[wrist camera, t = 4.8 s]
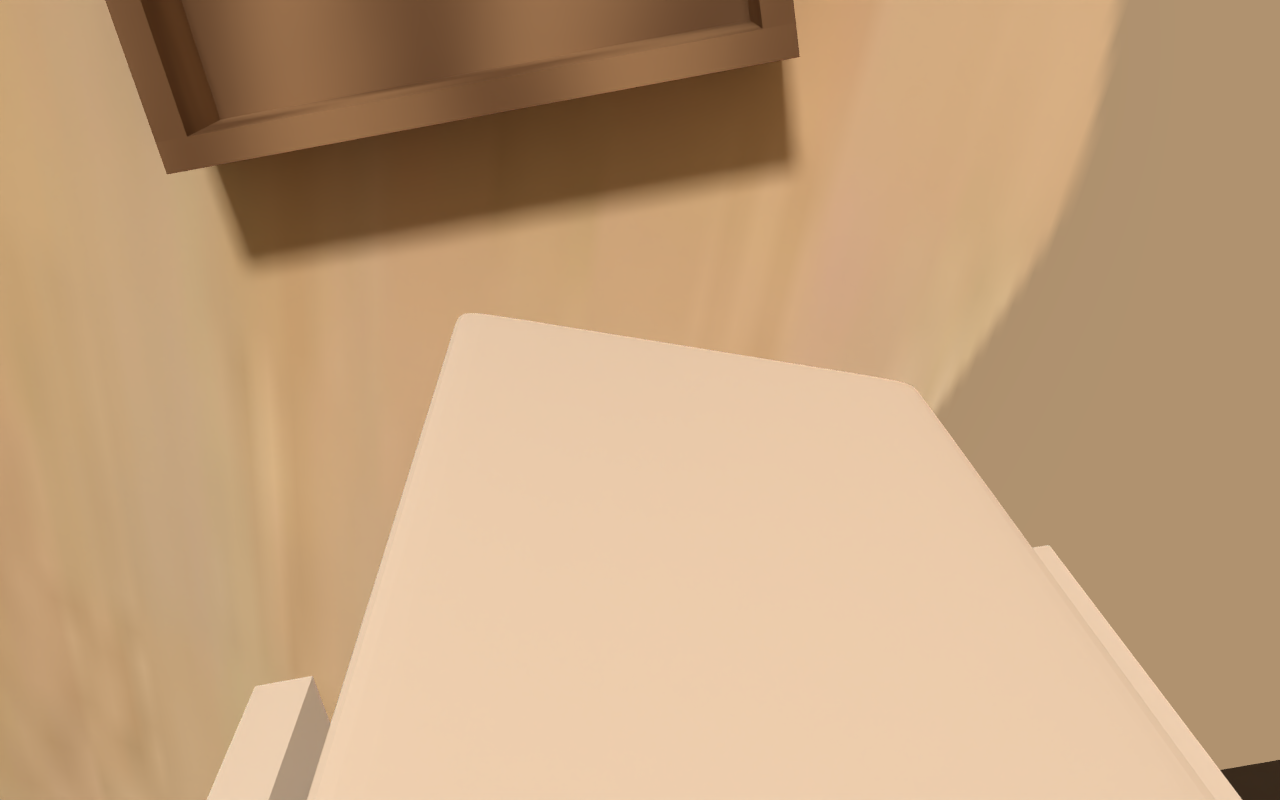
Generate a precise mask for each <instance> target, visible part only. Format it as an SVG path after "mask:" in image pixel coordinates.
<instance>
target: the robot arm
mask: <svg viewBox="0 0 1280 800" xmlns="http://www.w3.org/2000/svg"><path fill="white" fill-rule="evenodd" d="M1033 550H1034V551H1035V552H1036V554H1037V555H1038V557H1039V558H1040V559H1041V561H1042V562H1043V563H1044V565H1045V566H1046V568H1047V569H1048V570H1049V572H1050V573H1051V574H1052V576H1053V577H1054V579H1055V580H1056V581H1057V583H1058V584H1059V585H1060V587H1061V588H1062V590H1063V591H1064V592H1065V594H1066V595H1067V596H1068V598H1069V599H1070V601H1071V602H1072V603H1073V605H1074V606H1075V607H1076V609H1077V610H1078V612H1079V613H1080V614H1081V616H1082V617H1083V618H1084V620H1085V621H1086V623H1087V624H1088V625H1089V627H1090V628H1091V629H1092V631H1093V632H1094V634H1095V635H1096V636H1097V638H1098V639H1099V640H1100V642H1101V643H1102V644H1103V646H1104V647H1105V649H1106V650H1107V651H1108V653H1109V654H1110V655H1111V657H1112V658H1113V660H1114V661H1115V662H1116V664H1117V665H1118V666H1119V668H1120V669H1121V671H1122V672H1123V673H1124V675H1125V676H1126V677H1127V679H1128V680H1129V682H1130V683H1131V684H1132V686H1133V687H1134V688H1135V690H1136V691H1137V693H1138V694H1139V695H1140V697H1141V698H1142V699H1143V701H1144V702H1145V704H1146V705H1147V706H1148V708H1149V709H1150V710H1151V712H1152V713H1153V715H1154V716H1155V717H1156V719H1157V720H1158V721H1159V723H1160V724H1161V726H1162V727H1163V728H1164V730H1165V731H1166V732H1167V734H1168V735H1169V736H1170V738H1171V739H1172V741H1173V742H1174V743H1175V745H1176V746H1177V747H1178V749H1179V750H1180V752H1181V753H1182V754H1183V756H1184V757H1185V758H1186V760H1187V761H1188V763H1189V764H1190V765H1191V767H1192V768H1193V769H1194V771H1195V772H1196V774H1197V775H1198V776H1199V778H1200V779H1201V780H1202V782H1203V783H1204V785H1205V786H1206V787H1207V789H1208V790H1209V791H1210V793H1211V794H1212V796H1213V797H1214V798H1215V800H1280V760H1276V761H1271V762H1265V763H1260V764H1253V765H1247V766H1242V767H1236V768H1230V769H1224V770H1219V768H1218V767H1217V766H1216V764H1215V763H1214V762H1213V760H1212V759H1211V758H1210V757H1209V755H1208V754H1207V753H1206V751H1205V750H1204V749H1203V747H1202V746H1201V745H1200V743H1199V742H1198V741H1197V739H1196V738H1195V737H1194V736H1193V734H1192V733H1191V731H1190V730H1189V729H1188V727H1187V726H1186V725H1185V724H1184V722H1183V721H1182V720H1181V718H1180V717H1179V716H1178V714H1177V713H1176V712H1175V710H1174V709H1173V708H1172V707H1171V705H1170V704H1169V702H1168V701H1167V700H1166V699H1165V697H1164V696H1163V695H1162V693H1161V692H1160V691H1159V689H1158V688H1157V687H1156V685H1155V684H1154V683H1153V681H1152V680H1151V679H1150V678H1149V676H1148V675H1147V674H1146V672H1145V671H1144V670H1143V668H1142V667H1141V666H1140V664H1139V663H1138V662H1137V661H1136V659H1135V658H1134V656H1133V655H1132V654H1131V652H1130V651H1129V650H1128V648H1127V647H1126V646H1125V644H1124V643H1123V642H1122V641H1121V639H1120V638H1119V637H1118V635H1117V634H1116V633H1115V631H1114V630H1113V629H1112V628H1111V626H1110V625H1109V623H1108V622H1107V621H1106V620H1105V618H1104V617H1103V616H1102V614H1101V613H1100V612H1099V610H1098V609H1097V608H1096V606H1095V605H1094V604H1093V602H1092V601H1091V600H1090V598H1089V597H1088V596H1087V594H1085V592H1084V590H1083V589H1082V588H1081V586H1080V585H1079V584H1078V583H1077V581H1076V580H1075V579H1074V577H1073V576H1072V575H1071V574H1070V572H1069V571H1068V569H1067V568H1066V567H1065V565H1064V564H1063V563H1062V561H1061V560H1060V559H1059V557H1057V555H1056V554H1055V552H1054V551H1053V550H1052V548H1051V547H1050V546H1049V545H1046V546H1041V547H1035V548H1033ZM329 727H330V722H329V719H328V716H327V714H326V711H325V708H324V705H323V703H322V700H321V697H320V695H319V692H318V689H317V686H316V684H315V681H314V678H313V676H309V677H304V678H298V679H292V680H287V681H281V682H275V683H270V684H264V685H259V686H255V688H254V690H253V692H252V695H251V697H250V699H249V702H248V704H247V706H246V709H245V711H244V713H243V716H242V718H241V720H240V723H239V725H238V727H237V730H236V732H235V734H234V737H233V739H232V742H231V744H230V746H229V749H228V751H227V753H226V756H225V758H224V760H223V763H222V765H221V767H220V770H219V772H218V774H217V777H216V779H215V781H214V784H213V786H212V788H211V791H210V793H209V796H208V798H207V800H307V797H308V794H309V791H310V787H311V784H312V781H313V778H314V775H315V771H316V768H317V765H318V762H319V759H320V755H321V752H322V749H323V746H324V743H325V739H326V736H327V733H328V730H329Z"/></svg>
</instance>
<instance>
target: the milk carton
mask: <svg viewBox="0 0 1280 800" xmlns="http://www.w3.org/2000/svg"><path fill="white" fill-rule="evenodd" d="M307 800H1215V798H1214V797H1213V796H1212V794H1211V793H1210V791H1209V790H1208V789H1207V787H1206V786H1205V785H1204V783H1203V782H1202V780H1201V779H1200V778H1199V776H1198V775H1197V774H1196V772H1195V771H1194V769H1193V768H1192V767H1191V765H1190V764H1189V763H1188V761H1187V760H1186V758H1185V757H1184V756H1183V754H1182V753H1181V752H1180V750H1179V749H1178V747H1177V746H1176V745H1175V743H1174V742H1173V741H1172V739H1171V738H1170V736H1169V735H1168V734H1167V732H1166V731H1165V730H1164V728H1163V727H1162V726H1161V724H1160V723H1159V721H1158V720H1157V719H1156V717H1155V716H1154V715H1153V713H1152V712H1151V710H1150V709H1149V708H1148V706H1147V705H1146V704H1145V702H1144V701H1143V699H1142V698H1141V697H1140V695H1139V694H1138V693H1137V691H1136V690H1135V688H1134V687H1133V686H1132V684H1131V683H1130V682H1129V680H1128V679H1127V677H1126V676H1125V675H1124V673H1123V672H1122V671H1121V669H1120V668H1119V666H1118V665H1117V664H1116V662H1115V661H1114V660H1113V658H1112V657H1111V655H1110V654H1109V653H1108V651H1107V650H1106V649H1105V647H1104V646H1103V644H1102V643H1101V642H1100V640H1099V639H1098V638H1097V636H1096V635H1095V634H1094V632H1093V631H1092V629H1091V628H1090V627H1089V625H1088V624H1087V623H1086V621H1085V620H1084V618H1083V617H1082V616H1081V614H1080V613H1079V612H1078V610H1077V609H1076V607H1075V606H1074V605H1073V603H1072V602H1071V601H1070V599H1069V598H1068V596H1067V595H1066V594H1065V592H1064V591H1063V590H1062V588H1061V587H1060V585H1059V584H1058V583H1057V581H1056V580H1055V579H1054V577H1053V576H1052V574H1051V573H1050V572H1049V570H1048V569H1047V568H1046V566H1045V565H1044V563H1043V562H1042V561H1041V559H1040V558H1039V557H1038V555H1037V554H1036V552H1035V551H1034V550H1033V548H1032V547H1031V546H1030V544H1029V543H1028V542H1027V540H1026V539H1025V537H1024V536H1023V535H1022V533H1021V532H1020V531H1019V529H1018V528H1017V527H1016V525H1015V524H1014V522H1013V521H1012V520H1011V518H1010V517H1009V515H1008V514H1007V513H1006V512H1005V510H1004V509H1003V507H1002V506H1001V504H1000V503H999V502H998V500H997V499H996V498H995V496H994V495H993V493H992V492H991V491H990V489H989V488H988V487H987V485H986V484H985V482H984V481H983V480H982V478H981V477H980V476H979V474H978V473H977V472H976V470H975V469H974V467H973V466H972V465H971V463H970V462H969V461H968V459H967V458H966V457H965V455H964V454H963V452H962V451H961V449H960V448H959V447H958V445H957V444H956V443H955V441H954V440H953V439H952V437H951V436H950V434H949V433H948V432H947V430H946V429H945V428H944V426H943V425H942V423H941V422H940V421H939V419H938V418H937V417H936V415H935V414H934V412H933V411H932V410H931V408H930V407H929V406H928V404H927V403H926V401H925V400H924V399H923V397H922V396H921V395H920V393H919V392H918V391H917V390H916V389H915V388H914V387H913V386H911V385H909V384H906V383H904V382H900V381H895V380H890V379H885V378H880V377H874V376H868V375H862V374H856V373H850V372H844V371H838V370H831V369H825V368H819V367H813V366H807V365H800V364H794V363H788V362H782V361H776V360H770V359H763V358H757V357H751V356H745V355H739V354H732V353H726V352H720V351H714V350H708V349H701V348H695V347H689V346H683V345H677V344H671V343H664V342H658V341H652V340H646V339H640V338H633V337H627V336H621V335H615V334H609V333H603V332H596V331H590V330H584V329H578V328H572V327H565V326H559V325H553V324H547V323H541V322H535V321H528V320H522V319H515V318H509V317H503V316H495V315H488V314H479V313H466V314H463V315H461V316H460V317H459V318H458V320H457V322H456V324H455V327H454V330H453V333H452V336H451V339H450V343H449V346H448V349H447V352H446V355H445V359H444V362H443V365H442V368H441V371H440V375H439V378H438V381H437V384H436V387H435V391H434V394H433V397H432V400H431V403H430V407H429V410H428V413H427V416H426V419H425V423H424V426H423V429H422V432H421V435H420V439H419V442H418V445H417V448H416V451H415V455H414V458H413V461H412V464H411V467H410V471H409V474H408V477H407V480H406V483H405V487H404V490H403V493H402V496H401V499H400V503H399V506H398V509H397V512H396V515H395V519H394V522H393V525H392V528H391V531H390V535H389V538H388V541H387V544H386V547H385V551H384V554H383V557H382V560H381V563H380V567H379V570H378V573H377V576H376V579H375V583H374V586H373V589H372V592H371V595H370V599H369V602H368V605H367V608H366V611H365V615H364V618H363V621H362V624H361V627H360V631H359V634H358V637H357V640H356V643H355V647H354V650H353V653H352V656H351V659H350V663H349V666H348V669H347V672H346V675H345V679H344V682H343V685H342V688H341V691H340V695H339V698H338V701H337V704H336V707H335V711H334V714H333V717H332V720H331V723H330V727H329V730H328V733H327V736H326V739H325V743H324V746H323V749H322V752H321V755H320V759H319V762H318V765H317V768H316V771H315V775H314V778H313V781H312V784H311V787H310V791H309V794H308V797H307Z"/></svg>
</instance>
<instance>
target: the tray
mask: <svg viewBox="0 0 1280 800" xmlns="http://www.w3.org/2000/svg"><path fill="white" fill-rule="evenodd" d="M105 1H106V3H107V6H108V9H109V12H110V15H111V18H112V20H113V23H114V26H115V29H116V32H117V34H118V37H119V40H120V43H121V46H122V49H123V51H124V54H125V57H126V60H127V63H128V65H129V68H130V71H131V74H132V77H133V80H134V82H135V85H136V88H137V91H138V94H139V96H140V99H141V102H142V105H143V108H144V111H145V113H146V116H147V119H148V122H149V125H150V127H151V130H152V133H153V136H154V139H155V142H156V144H157V147H158V150H159V153H160V156H161V158H162V161H163V164H164V167H165V170H166V173H167V174H171V173H177V172H182V171H188V170H193V169H198V168H204V167H209V166H215V165H220V164H225V163H231V162H236V161H241V160H247V159H252V158H258V157H263V156H268V155H274V154H279V153H285V152H290V151H295V150H301V149H306V148H311V147H317V146H322V145H328V144H333V143H338V142H344V141H349V140H355V139H360V138H365V137H371V136H376V135H381V134H387V133H392V132H398V131H403V130H408V129H414V128H419V127H425V126H430V125H435V124H441V123H446V122H451V121H457V120H462V119H468V118H473V117H478V116H484V115H489V114H495V113H500V112H505V111H511V110H516V109H521V108H527V107H532V106H538V105H543V104H548V103H554V102H559V101H565V100H570V99H575V98H581V97H586V96H591V95H597V94H602V93H608V92H613V91H618V90H624V89H629V88H635V87H640V86H645V85H651V84H656V83H661V82H667V81H672V80H678V79H683V78H688V77H694V76H699V75H705V74H710V73H715V72H721V71H726V70H731V69H737V68H742V67H748V66H753V65H758V64H764V63H769V62H775V61H780V60H785V59H791V58H796V57H799V48H798V39H797V30H796V21H795V12H794V3H793V0H105Z"/></svg>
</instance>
